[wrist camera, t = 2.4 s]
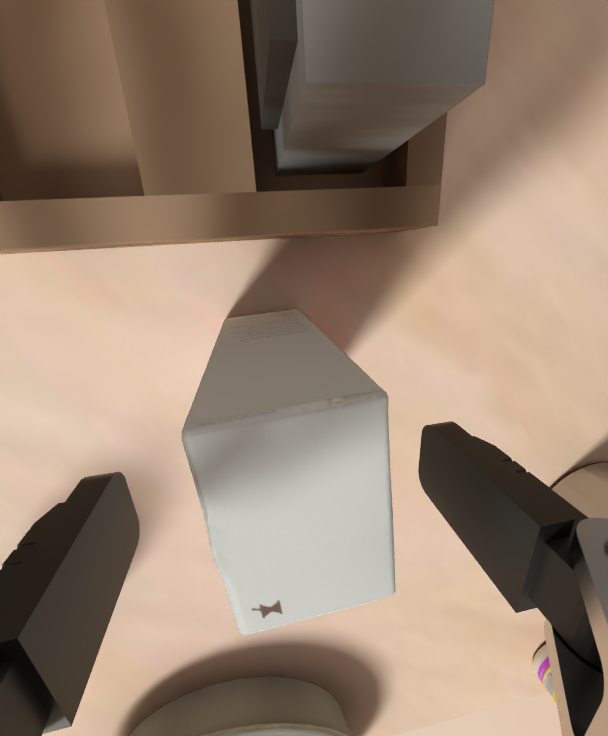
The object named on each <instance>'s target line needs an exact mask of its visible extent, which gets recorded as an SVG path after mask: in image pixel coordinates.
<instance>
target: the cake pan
mask: <svg viewBox="0 0 608 736" xmlns="http://www.w3.org/2000/svg"><path fill="white" fill-rule="evenodd" d="M129 736H351V733H350V731H349V728H348V726H347V723H346V720H345V717H344V715H343V712H342V709H341V707H340V705H339V703H338V701H337V700H336V699H335V698H334V696H333V695H331V694H330V693H329V692H328V691H326V690H325V689H323V688H321V687H319V686H317V685H315V684H312V683H310V682H306V681H303V680H298V679H293V678H285V677H251V678H242V679H236V680H231V681H226V682H221V683H218V684H214V685H210V686H207V687H204V688H201V689H198V690H195V691H193V692H190V693H188V694H186V695H183V696H181V697H179V698H177V699H175V700H173V701H171V702H169V703H167V704H166V705H164V706H162V707H161V708H159V709H158V710H156V711H155V712H153V713H152V714H150V715H149V716H148V717H147V718H145V719H144V720H143V721H142V722H141V723H140V724H139V725H138V726H137V727H136V728H135V729H134V730H133V731H132V733H131V734H130V735H129Z"/></svg>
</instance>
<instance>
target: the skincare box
mask: <svg viewBox="0 0 608 736" xmlns="http://www.w3.org/2000/svg"><path fill="white" fill-rule="evenodd" d="M182 442H183V445H184V449H185V452H186V455H187V459H188V462H189V465H190V469H191V472H192V475H193V479H194V482H195V485H196V489H197V493H198V496H199V499H200V503H201V506H202V510H203V513H204V517H205V522H206V526H207V532H208V539H209V543H210V547H211V551H212V554H213V558H214V561H215V563H216V565H217V567H218V569H219V571H220V574H221V576H222V579H223V583H224V586H225V589H226V592H227V595H228V598H229V601H230V605H231V608H232V611H233V614H234V618H235V621H236V624H237V627H238V631H239V633H241V634H242V635H249V634H253V633H257V632H260V631H264V630H268V629H272V628H275V627H279V626H283V625H287V624H290V623H294V622H298V621H302V620H306V619H310V618H314V617H318V616H322V615H326V614H330V613H333V612H337V611H341V610H345V609H349V608H353V607H356V606H360V605H363V604H367V603H370V602H373V601H376V600H379V599H382V598H386V597H390V596H391V595H393V594H394V592H395V564H394V536H393V511H392V494H391V475H390V451H389V426H388V395H387V393H386V392H385V391H384V390H383V389H382V388H380V387H379V386H378V385H377V384H376V383H375V382H374V381H373V380H372V379H371V378H370V377H369V376H368V375H367V374H366V373H365V372H364V371H363V370H362V369H361V368H360V367H359V366H358V365H357V364H356V363H355V362H353V361H352V360H351V359H350V358H349V357H348V356H347V355H346V354H345V353H344V352H343V351H342V350H341V349H340V348H339V347H338V346H337V345H336V344H335V343H334V342H333V341H332V340H330V339H329V338H328V337H327V336H326V335H325V334H324V333H323V332H322V331H321V330H320V329H319V328H318V327H317V326H316V325H315V324H314V323H313V322H312V321H311V320H310V319H309V318H308V317H307V316H306V315H305V314H304V313H302V312H301V311H300V310H299V309H290V310H284V311H276V312H269V313H261V314H254V315H247V316H240V317H232V318H227V319H225V320H224V322H223V325H222V328H221V330H220V333H219V336H218V338H217V341H216V343H215V346H214V349H213V351H212V354H211V356H210V359H209V362H208V365H207V367H206V370H205V372H204V375H203V377H202V380H201V383H200V385H199V388H198V391H197V393H196V396H195V399H194V401H193V403H192V407H191V409H190V411H189V414H188V416H187V419H186V421H185V424H184V427H183V430H182Z"/></svg>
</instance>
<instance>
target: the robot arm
mask: <svg viewBox="0 0 608 736" xmlns="http://www.w3.org/2000/svg"><path fill="white" fill-rule="evenodd" d="M419 479H420V482H421V485H422V487H423V490H424V491H425V493H426V494H427V496H428V497H429V498H430V500H431V501H432V502H433V504H434V505H435V506H436V508H437V509H438V510H439V512H440V513H441V514H442V515H443V517H444V518H445V519H446V521H447V522H448V523H449V525H450V526H451V527H452V529H453V530H454V531H455V533H456V534H457V535H458V537H459V538H460V539H461V541H462V542H463V543H464V545H465V546H466V547H467V549H468V550H469V551H470V553H471V554H472V555H473V556H474V558H475V559H476V560H477V562H478V563H479V564H480V566H481V567H482V568H483V570H484V571H485V572H486V574H487V575H488V576H489V578H490V579H491V580H492V582H493V583H494V584H495V586H496V587H497V588H498V590H499V591H500V592H501V594H502V595H503V596H504V598H505V599H506V600H507V601H508V603H509V604H510V605H511V607H512V608H513V609H514V611H515V612H516V613H518V612H522V611H526V610H529V609H533V608H538V609H539V610H540V611H541V613H542V614H543V615H544V616H545V617H546V619H545V623H544V633H545V639H546V645H547V651H548V656H549V662H550V668H551V674H552V679H553V685H554V691H555V697H556V702H557V708H558V714H559V719H560V725H561V730H562V736H608V463H597V464H592V465H589V466H586V467H583V468H581V469H579V470H577V471H575V472H573V473H571V474H569V475H568V476H567V477H565V478H564V479H562V480H561V481H560V482H559V483H558V484H557V485H556V486H554V487H553V488H552V489H551V488H549V487H548V486H547V485H545V484H544V483H543V482H541V481H540V480H539V479H538V478H536V477H535V476H534V475H532V474H531V473H530V472H526V469H525V468H523V467H522V466H521V465H519V464H518V463H517V462H515V461H512V460H511V458H510V457H509V456H508V455H506V454H505V453H504V452H502V451H501V450H500V449H499V448H497V447H496V446H494V445H492V444H490V443H488V442H486V441H484V440H481V439H479V438H477V437H475V436H473V437H472V436H471V435H470V434H469V433H467V432H466V431H465V430H464V429H462V428H461V427H460V426H459V425H457V424H456V423H454V422H445V423H438V424H432V425H426V426H425V427H424V428H423V430H422V437H421V448H420V459H419ZM138 539H139V520H138V516H137V513H136V510H135V507H134V504H133V501H132V498H131V495H130V492H129V489H128V486H127V482H126V479H125V477H124V475H123V474H122V473H121V472H115V473H109V474H102V475H96V476H89V477H85V478H83V479H82V480H81V481H80V482H79V483H78V485H77V486H76V488H75V489H74V490H73V492H72V493H71V495H70V496H69V497H68V499H67V500H66V502H64V503H58V504H57V505H56V506H55V507H53V508H52V509H51V510H50V511H49V512H47V513H46V514H45V515H44V516H43V517H41V518H40V519H39V520H38V521H36V522H35V523H34V524H33V526H32V527H31V528H30V530H29V531H28V532H27V533H26V535H25V536H24V537H23V539H22V540H21V541H20V543H19V544H18V545H17V546H18V547H17V550H13V552H12V553H11V554H10V555H9V557H8V558H7V559H6V561H5V562H4V563H3V565H2V569H1V570H0V736H42V734H44V733H48V732H52V731H55V730H59V729H63V728H67V727H71V726H72V723H73V721H74V718H75V715H76V712H77V710H78V707H79V704H80V701H81V699H82V696H83V693H84V690H85V688H86V685H87V682H88V679H89V677H90V674H91V671H92V668H93V666H94V663H95V660H96V657H97V655H98V652H99V649H100V646H101V644H102V641H103V638H104V635H105V633H106V630H107V627H108V624H109V622H110V619H111V616H112V613H113V611H114V608H115V605H116V602H117V600H118V597H119V594H120V591H121V589H122V586H123V583H124V580H125V578H126V575H127V572H128V569H129V567H130V564H131V561H132V558H133V556H134V553H135V550H136V547H137V544H138Z"/></svg>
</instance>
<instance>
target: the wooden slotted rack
mask: <svg viewBox="0 0 608 736" xmlns="http://www.w3.org/2000/svg"><path fill="white" fill-rule="evenodd" d="M493 4H494V0H0V254H10V253H28V252H45V251H63V250H81V249H98V248H116V247H134V246H151V245H169V244H187V243H205V242H222V241H240V240H258V239H275V238H293V237H311V236H328V235H346V234H364V233H382V232H399V231H406V230H412V229H418V228H424V227H430V226H437V225H438V214H439V202H440V189H441V177H442V165H443V152H444V140H445V128H446V116H447V111H448V110H450V109H451V108H452V107H454V106H455V105H457V104H458V103H459V102H461V101H462V100H463V99H465V98H466V97H467V96H469V95H470V94H472V93H473V92H474V91H476V90H477V89H478V88H480V87H481V86H483V85H484V84H485V75H486V66H487V57H488V48H489V40H490V31H491V22H492V13H493Z"/></svg>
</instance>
